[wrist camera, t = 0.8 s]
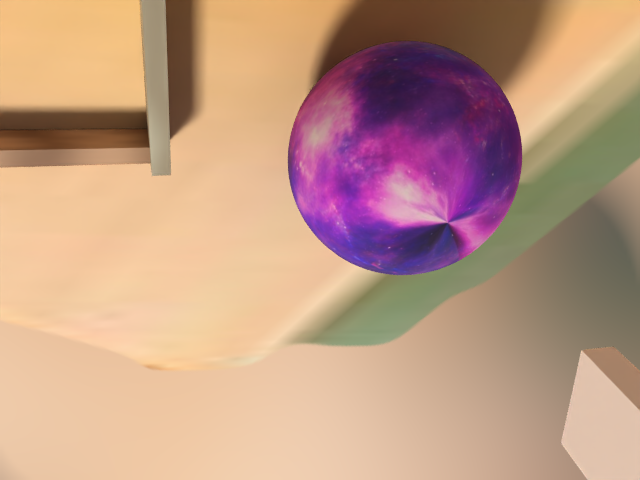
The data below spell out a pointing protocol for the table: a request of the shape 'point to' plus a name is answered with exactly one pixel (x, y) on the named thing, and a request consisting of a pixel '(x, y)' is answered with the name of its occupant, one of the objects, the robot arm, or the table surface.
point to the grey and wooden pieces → (109, 143)
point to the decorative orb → (404, 157)
